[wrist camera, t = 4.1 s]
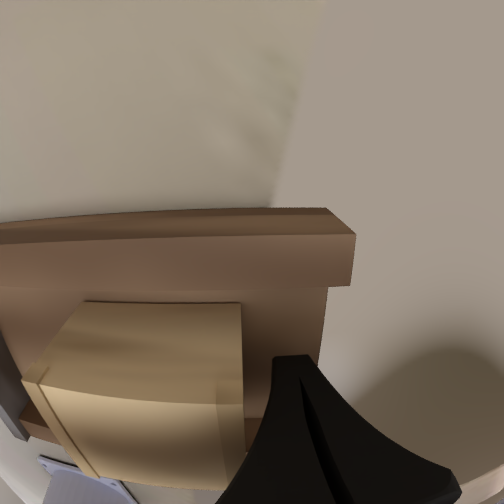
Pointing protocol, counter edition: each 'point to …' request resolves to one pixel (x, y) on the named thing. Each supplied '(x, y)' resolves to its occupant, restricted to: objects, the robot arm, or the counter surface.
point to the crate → (147, 392)
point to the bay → (170, 285)
